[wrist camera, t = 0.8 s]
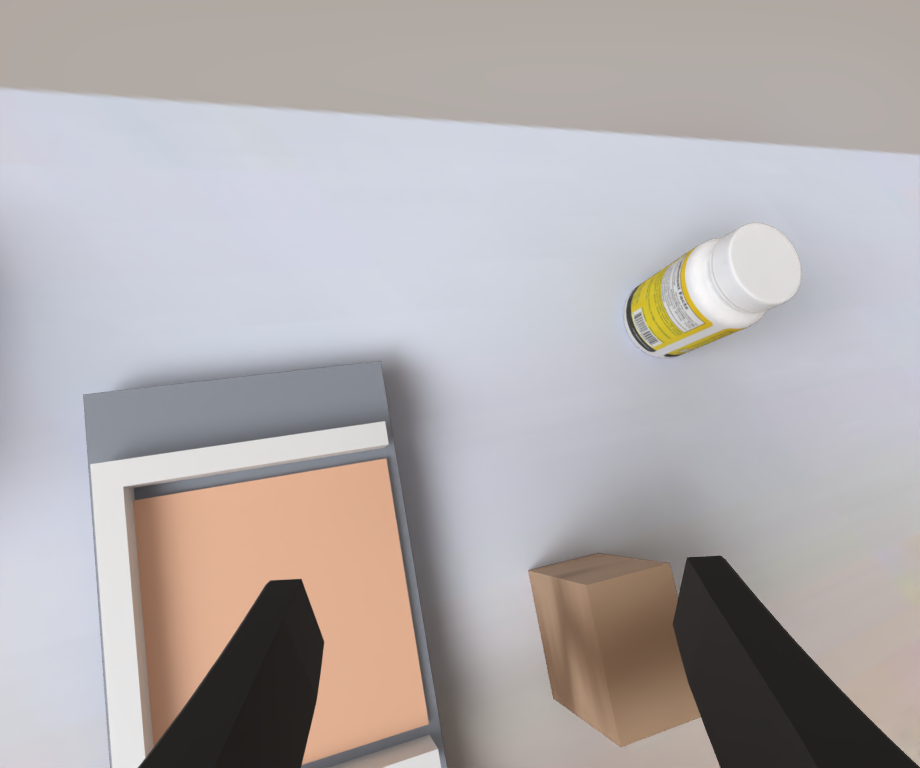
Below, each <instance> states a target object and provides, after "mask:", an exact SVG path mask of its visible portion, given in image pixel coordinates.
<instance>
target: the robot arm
mask: <svg viewBox="0 0 920 768" xmlns="http://www.w3.org/2000/svg"><path fill="white" fill-rule="evenodd" d="M673 628H674V632H675V636H676V640H677V643H678V647H679V651H680V655H681V659H682V662H683V666H684V670H685V673H686V677H687V680H688V683H689V686H690V689H691V692H692V694H693V697H694V700H695V702H696V705H697V707H698V710H699V713H700V715H701V718H702V721H703V723H704V726H705V729H706V731H707V734H708V736H709V739H710V742H711V744H712V747H713V749H714V752H715V754H716V757H717V760H718V762H719V765H720V767H721V768H920V767H919V766H918V765H917V764H916V763H915V762H914V761H913V760H911V759H910V758H909V757H908V756H907V755H906V754H905V753H904V752H903V751H902V750H901V749H900V748H899V747H898V746H897V745H896V744H895V743H894V742H893V741H892V740H890V739H889V738H888V737H887V736H886V735H885V734H884V733H883V732H882V731H881V730H880V729H879V728H878V727H877V726H876V725H875V724H874V723H873V722H872V721H871V720H870V719H869V718H868V717H867V716H866V715H865V714H864V713H863V712H862V711H861V710H860V709H859V708H858V707H857V706H856V705H855V704H854V703H853V702H852V701H851V700H850V699H849V698H848V697H847V696H846V695H845V694H844V693H843V692H842V690H841V689H840V688H839V687H838V686H837V685H836V684H835V683H834V682H833V681H832V680H831V679H830V678H829V677H828V676H827V675H826V674H825V673H824V671H823V670H822V669H821V668H820V667H819V666H818V665H817V664H816V663H815V662H814V661H813V660H812V659H811V657H810V656H809V655H808V654H807V653H806V652H805V651H804V650H803V649H802V648H801V647H800V646H799V645H798V643H797V642H796V641H795V640H794V639H793V638H792V637H791V636H790V635H789V633H788V632H787V631H786V630H785V629H784V628H783V627H782V626H781V624H780V623H779V622H778V621H777V620H776V619H775V618H774V616H773V615H772V614H771V613H770V612H769V611H768V610H767V608H766V607H765V606H764V605H763V604H762V603H761V601H760V600H759V599H758V598H757V597H756V596H755V594H754V593H753V592H752V591H751V590H750V588H749V587H748V586H747V585H746V584H745V583H744V581H743V580H742V579H741V578H740V577H739V575H738V574H737V573H736V572H735V571H734V569H733V568H732V567H731V566H730V565H729V563H728V562H727V561H726V560H725V559H724V558H723V557H722V556H707V557H689V558H687V560H686V565H685V569H684V574H683V579H682V583H681V588H680V592H679V597H678V602H677V606H676V611H675V615H674V620H673ZM323 649H324V639H323V637H322V634H321V631H320V628H319V626H318V623H317V620H316V617H315V615H314V612H313V609H312V606H311V604H310V601H309V598H308V595H307V593H306V590H305V587H304V584H303V582H302V579H288V580H270V581H269V582H268V583H267V584H266V585H265V586H264V588H263V590H262V591H261V593H260V594H259V596H258V598H257V599H256V601H255V602H254V604H253V605H252V607H251V609H250V610H249V612H248V613H247V615H246V616H245V618H244V620H243V621H242V623H241V624H240V626H239V627H238V629H237V630H236V632H235V633H234V635H233V636H232V638H231V639H230V641H229V642H228V644H227V645H226V647H225V648H224V650H223V651H222V653H221V654H220V656H219V657H218V659H217V660H216V662H215V663H214V665H213V666H212V668H211V669H210V670H209V672H208V673H207V675H206V676H205V678H204V679H203V680H202V682H201V683H200V685H199V686H198V688H197V689H196V691H195V692H194V693H193V695H192V696H191V698H190V699H189V700H188V702H187V703H186V705H185V706H184V707H183V709H182V710H181V712H180V713H179V714H178V715H177V717H176V718H175V719H174V721H173V722H172V723H171V725H170V726H169V727H168V729H167V730H166V731H165V733H164V734H163V735H162V737H161V738H160V739H159V741H158V742H157V743H156V745H155V746H154V747H153V749H152V750H151V751H150V753H149V754H148V755H147V757H146V758H145V759H144V760H143V762H142V763H141V764H140V765H139V767H138V768H301V765H302V761H303V757H304V753H305V749H306V745H307V740H308V736H309V732H310V728H311V723H312V719H313V715H314V710H315V706H316V701H317V696H318V689H319V681H320V674H321V666H322V658H323Z"/></svg>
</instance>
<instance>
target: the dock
mask: <svg viewBox="0 0 920 768" xmlns="http://www.w3.org/2000/svg"><path fill="white" fill-rule="evenodd" d="M83 399H84V412H85V426H86V440H87V454H88V468H89V482H90V496H91V510H92V524H93V538H94V552H95V565H96V579H97V593H98V607H99V621H100V635H101V649H102V663H103V677H104V691H105V704H106V718H107V732H108V746H109V760H110V768H138V767H139V765H140V764H141V763H142V762H143V760H144V759H145V758H146V757H147V755H148V754H149V753H150V751H151V750H152V749H153V747H154V746H155V745H156V743H157V742H158V741H159V739H160V738H161V737H162V735H163V734H164V733H165V731H166V730H167V729H168V727H169V726H170V725H171V723H172V722H173V721H174V719H175V718H176V717H177V715H178V714H179V713H180V712H181V710H182V709H183V707H184V706H185V705H186V703H187V702H188V700H189V699H190V698H191V696H192V695H193V693H194V692H195V691H196V689H197V688H198V686H199V685H200V683H201V682H202V680H203V679H204V678H205V676H206V675H207V673H208V672H209V670H210V669H211V668H212V666H213V665H214V663H215V662H216V660H217V659H218V657H219V656H220V654H221V653H222V651H223V650H224V648H225V647H226V645H227V644H228V642H229V641H230V639H231V638H232V636H233V635H234V633H235V632H236V630H237V629H238V627H239V626H240V624H241V623H242V621H243V620H244V618H245V616H246V615H247V613H248V612H249V610H250V609H251V607H252V605H253V604H254V602H255V601H256V599H257V598H258V596H259V594H260V593H261V591H262V590H263V588H264V586H265V585H266V584H267V583H268V582H269V581H270V580H288V579H302V582H303V584H304V587H305V590H306V593H307V595H308V598H309V601H310V604H311V606H312V609H313V612H314V615H315V617H316V620H317V623H318V626H319V628H320V631H321V634H322V637H323V639H324V649H323V658H322V666H321V674H320V681H319V689H318V696H317V701H316V706H315V710H314V715H313V719H312V723H311V728H310V732H309V736H308V740H307V745H306V749H305V753H304V757H303V761H302V765H301V768H447V765H446V759H445V753H444V746H443V740H442V734H441V728H440V722H439V716H438V710H437V704H436V698H435V691H434V685H433V679H432V673H431V667H430V661H429V655H428V649H427V642H426V636H425V630H424V624H423V618H422V612H421V606H420V600H419V593H418V587H417V581H416V575H415V569H414V563H413V557H412V551H411V545H410V538H409V532H408V526H407V520H406V514H405V508H404V502H403V496H402V489H401V483H400V477H399V471H398V465H397V459H396V453H395V447H394V441H393V434H392V428H391V422H390V416H389V410H388V404H387V398H386V392H385V385H384V379H383V373H382V367H381V361H376V362H367V363H358V364H349V365H341V366H332V367H323V368H314V369H305V370H296V371H287V372H278V373H270V374H261V375H252V376H243V377H234V378H225V379H216V380H208V381H199V382H190V383H181V384H172V385H163V386H154V387H145V388H137V389H128V390H119V391H110V392H101V393H92V394H83Z"/></svg>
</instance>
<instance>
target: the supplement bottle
mask: <svg viewBox="0 0 920 768" xmlns="http://www.w3.org/2000/svg"><path fill="white" fill-rule="evenodd" d="M800 281H801V265H800V261H799V257H798V255H797V253H796V251H795V249H794V247H793V246H792V244H791V243H790V241H789V240H788V239H787V238H786V237H785V236H784V235H783V234H782V233H781V232H780V231H778V230H776V229H775V228H773V227H771V226H769V225H766V224H762V223H750V224H747V225H744V226H742V227H740V228H739V229H737V230H735V231H733V232H731V233H729V234H727V235H725V236H724V237H723V238H716V239H711V240H708V241H706V242H704V243H702V244H700V245H698V246H697V247H695V248H694V249H692V250H691V251H689V252H688V253H686V254H685V255H683V256H682V257H680V258H679V259H677V260H676V261H674V262H673V263H672V264H670V265H669V266H667V267H666V268H664V269H663V270H661V271H660V272H658V273H657V274H655V275H654V276H652V277H651V278H649V279H648V280H646V281H645V282H643V283H642V284H640V285H639V286H638V287H636V288H635V289H634V290H633V291H632V292H631V293H630V294H629V296H628V298H627V300H626V302H625V306H624V323H625V327H626V330H627V333H628V335H629V337H630V338H631V340H632V341H633V343H634V344H635V345H636V346H637V347H638V348H639V349H641V350H642V351H643V352H645V353H647V354H648V355H651V356H654V357H657V358H673V357H677V356H679V355H682V354H684V353H686V352H689V351H691V350H694V349H696V348H698V347H701V346H703V345H706V344H708V343H710V342H713V341H715V340H717V339H720V338H722V337H725V336H727V335H729V334H732V333H734V332H737V331H739V330H742V329H744V328H747V327H749V326H751V325H753V324H754V323H756V322H757V321H758V320H759V319H761V317H762V316H763V315H764V314H765V313H766V311H767V310H769V309H771V308H774V307H776V306H778V305H780V304H782V303H784V302H786V301H788V300H789V299H791V298H792V297H793V296H794V294H795V293H796V292H797V290H798V288H799V285H800Z"/></svg>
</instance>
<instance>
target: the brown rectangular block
mask: <svg viewBox="0 0 920 768" xmlns="http://www.w3.org/2000/svg"><path fill="white" fill-rule="evenodd" d="M528 572H529V577H530V582H531V587H532V592H533V597H534V602H535V607H536V613H537V618H538V623H539V628H540V633H541V638H542V643H543V648H544V653H545V658H546V664H547V669H548V674H549V679H550V684H551V689H552V694H553V698H554V699H555V700H556V701H558V702H559V703H560V704H562V705H563V706H565V707H566V708H567V709H569V710H570V711H572V712H573V713H574V714H576V715H577V716H578V717H580V718H581V719H583V720H584V721H585V722H587V723H588V724H589V725H591V726H592V727H594V728H595V729H596V730H598V731H599V732H601V733H602V734H603V735H605V736H606V737H607V738H609V739H610V740H612V741H613V742H614V743H616V744H617V745H619V746H620V747H622V746H625V745H628V744H630V743H633V742H636V741H638V740H641V739H644V738H646V737H649V736H652V735H654V734H657V733H660V732H662V731H665V730H668V729H670V728H673V727H676V726H678V725H681V724H684V723H686V722H689V721H692V720H694V719H697V718H700V717H701V715H700V713H699V710H698V707H697V705H696V702H695V700H694V697H693V694H692V692H691V689H690V686H689V683H688V680H687V677H686V673H685V670H684V666H683V662H682V659H681V655H680V651H679V647H678V643H677V640H676V636H675V632H674V628H673V620H674V615H675V611H676V606H677V602H678V596H677V592H676V588H675V583H674V579H673V575H672V571H671V567H670V563H665V562H658V561H651V560H644V559H637V558H629V557H622V556H615V555H608V554H601V553H597V554H593V555H588V556H584V557H580V558H576V559H572V560H568V561H564V562H560V563H556V564H552V565H548V566H544V567H540V568H536V569H532V570H528Z"/></svg>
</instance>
